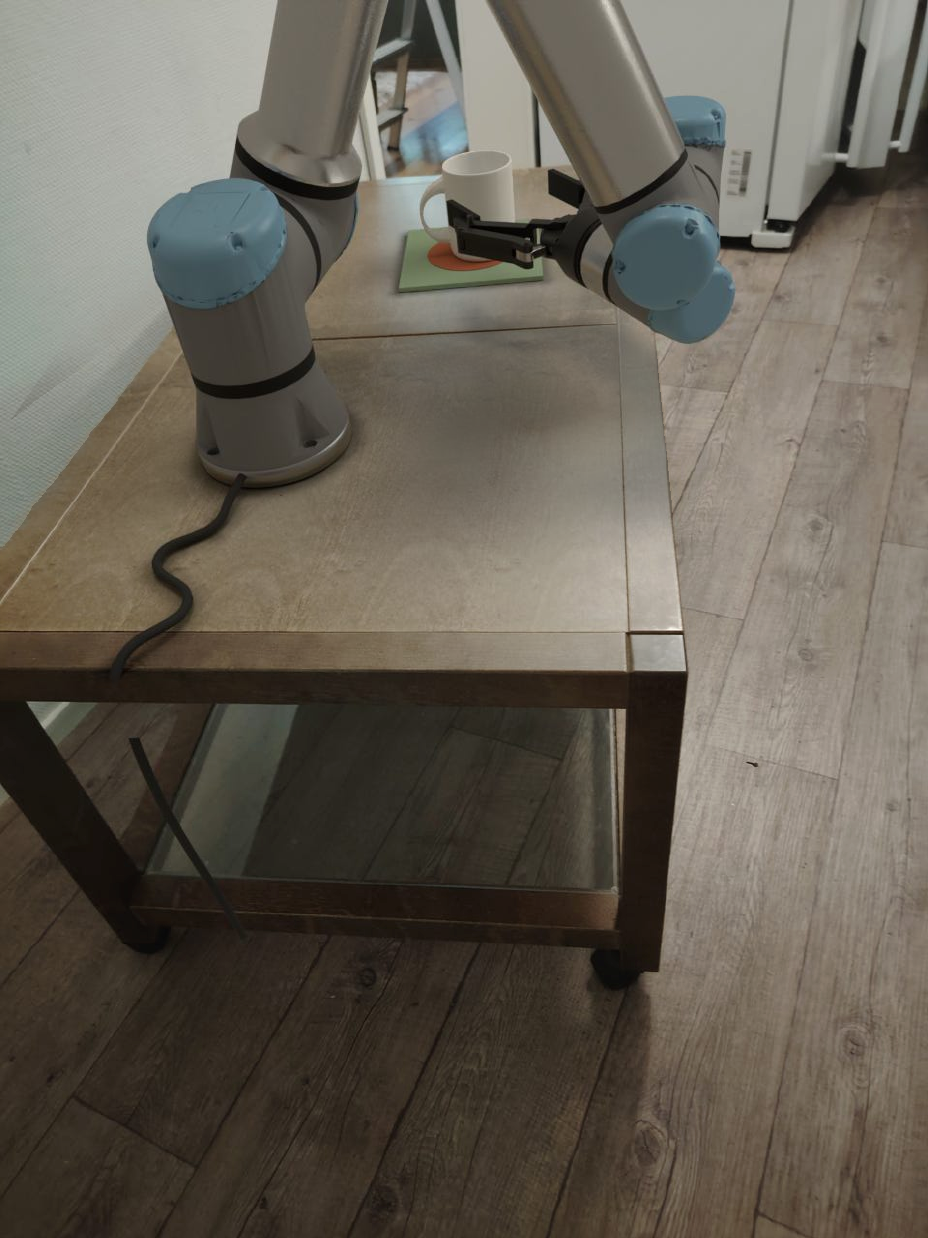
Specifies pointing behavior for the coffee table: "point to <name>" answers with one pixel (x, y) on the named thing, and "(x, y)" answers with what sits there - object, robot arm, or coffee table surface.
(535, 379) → the coffee table surface
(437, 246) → the placemat
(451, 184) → the mug
